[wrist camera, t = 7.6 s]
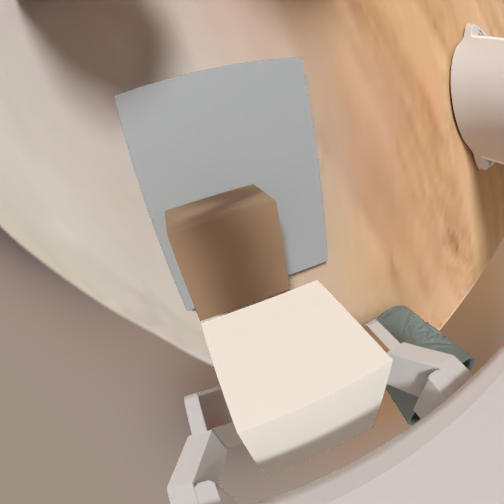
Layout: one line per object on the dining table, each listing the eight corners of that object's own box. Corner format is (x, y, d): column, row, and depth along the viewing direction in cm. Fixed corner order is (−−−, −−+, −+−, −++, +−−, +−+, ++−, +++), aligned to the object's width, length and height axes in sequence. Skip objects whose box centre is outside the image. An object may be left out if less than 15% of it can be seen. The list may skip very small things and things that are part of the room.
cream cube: (317, 280, 11) (393, 359, 7) (321, 355, 13) (373, 426, 9) (200, 323, 10) (237, 432, 6) (231, 392, 12) (265, 477, 8)
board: (294, 58, 17) (301, 56, 16) (321, 255, 25) (327, 260, 24) (116, 96, 15) (113, 95, 14) (185, 303, 23) (186, 310, 22)
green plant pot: (350, 371, 35) (399, 436, 25) (357, 317, 30) (425, 393, 20) (407, 340, 37) (457, 393, 27) (420, 286, 32) (486, 342, 22)
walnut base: (253, 183, 19) (276, 201, 16) (268, 260, 22) (290, 288, 19) (164, 211, 18) (167, 235, 15) (191, 286, 21) (200, 320, 18)
